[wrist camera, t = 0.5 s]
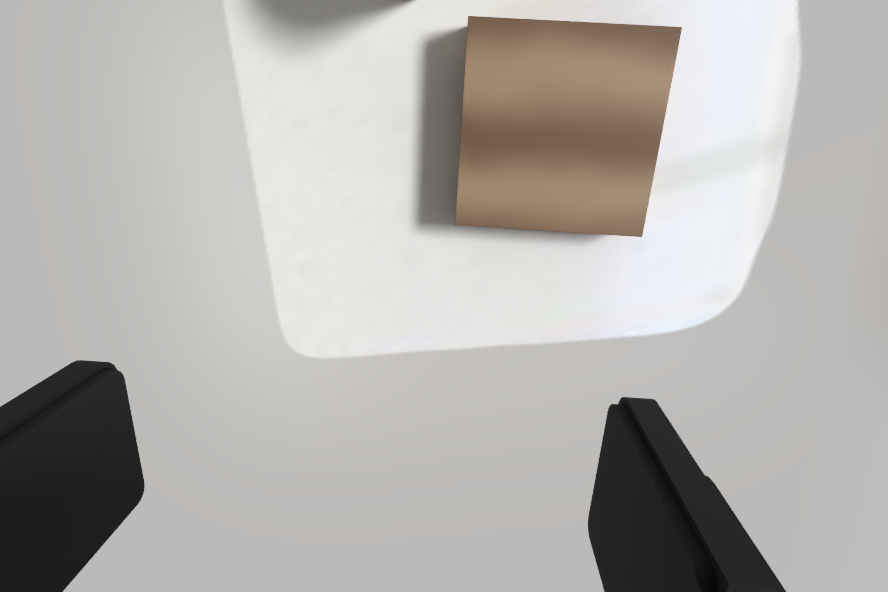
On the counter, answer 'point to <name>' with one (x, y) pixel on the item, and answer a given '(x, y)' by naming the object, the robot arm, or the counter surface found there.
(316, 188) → the counter surface
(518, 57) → the walnut base
